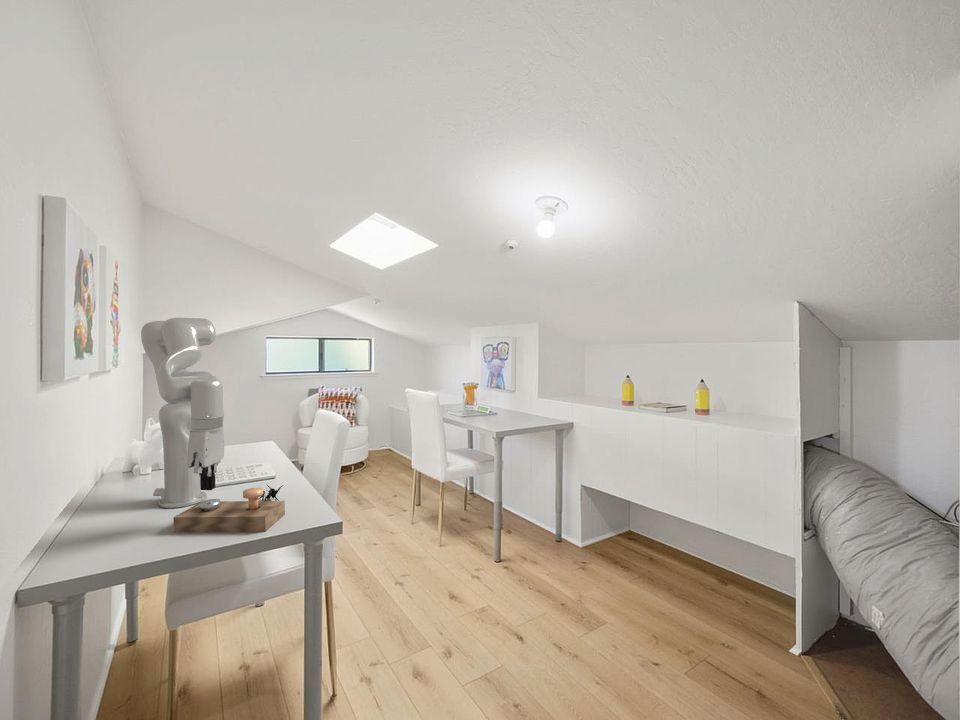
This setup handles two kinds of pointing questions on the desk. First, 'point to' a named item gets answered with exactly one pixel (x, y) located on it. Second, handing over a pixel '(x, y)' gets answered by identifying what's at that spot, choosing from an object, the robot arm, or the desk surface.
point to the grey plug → (209, 504)
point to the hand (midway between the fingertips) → (208, 489)
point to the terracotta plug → (253, 497)
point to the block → (230, 517)
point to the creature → (270, 494)
